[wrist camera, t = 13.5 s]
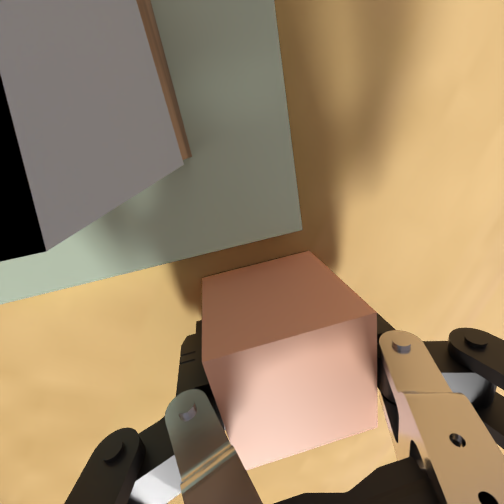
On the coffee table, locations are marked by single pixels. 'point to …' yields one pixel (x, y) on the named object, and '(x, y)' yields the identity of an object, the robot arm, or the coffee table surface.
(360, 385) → the terracotta block
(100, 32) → the slate block
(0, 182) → the walnut block
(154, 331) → the coffee table surface
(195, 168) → the baseplate
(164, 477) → the robot arm
